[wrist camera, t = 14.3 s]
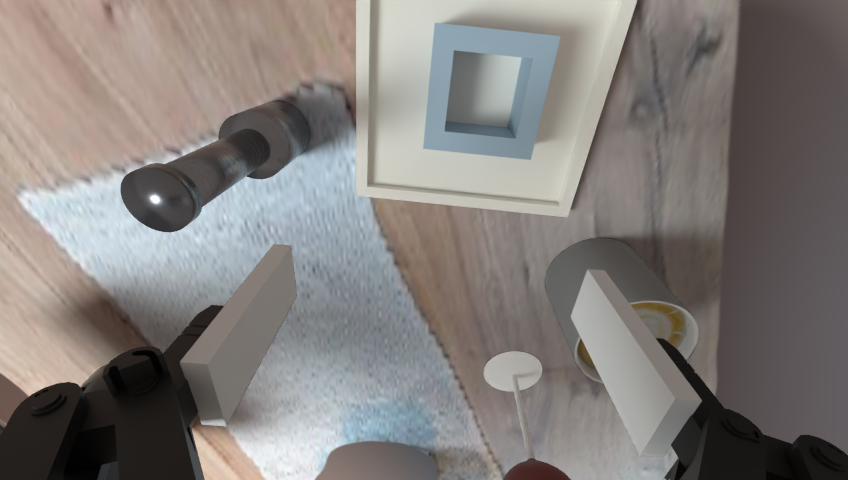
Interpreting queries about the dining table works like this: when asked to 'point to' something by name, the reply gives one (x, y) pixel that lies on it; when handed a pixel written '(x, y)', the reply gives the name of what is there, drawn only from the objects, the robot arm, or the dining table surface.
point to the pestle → (216, 166)
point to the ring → (527, 96)
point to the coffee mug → (633, 282)
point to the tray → (480, 100)
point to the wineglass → (521, 408)
